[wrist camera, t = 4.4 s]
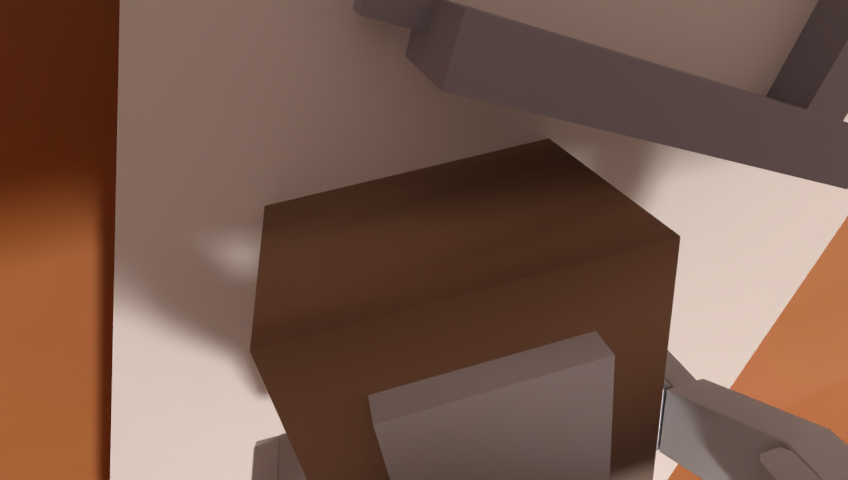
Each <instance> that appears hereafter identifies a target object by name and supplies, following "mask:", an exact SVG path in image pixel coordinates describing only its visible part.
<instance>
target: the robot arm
mask: <svg viewBox="0 0 848 480" xmlns="http://www.w3.org/2000/svg"><path fill="white" fill-rule="evenodd" d="M656 450H660V451H659V452H661V453H662V454H664V455H665V456H667V457H668V458H670V459H672V460H673V461H675V462H676V463H678V464H680V465H681V466H683V467H684V468H686V469H687V470H689V471H691V472H692V473H694V474H695V475H697V476H699V477H700V478H702V479H703V480H848V445H847V444H846V443H844V442H843V441H842V440H841V439H840V438H839V437H838V436H837V435H836V434H834V433H833V432H832V431H831V430H830V429H827V428H825V427H823V426H820V425H818V424H815V423H813V422H810V421H808V420H805V419H803V418H800V417H798V416H795V415H793V414H790V413H788V412H785V411H783V410H780V409H778V408H775V407H773V406H770V405H768V404H765V403H763V402H760V401H758V400H755V399H753V398H750V397H748V396H745V395H743V394H740V393H738V392H735V391H733V390H731V389H728V388H726V387H723V386H721V385H718V384H716V383H713V382H711V381H708V380H706V379H700V380H696V379H695V378H694V377H693V376H692V375H691V374H690V372H689V371H688V370H687V369H686V368H685V367H684V366H683V365H682V364H681V363H680V362H679V361H678V360H677V359H676V358H675V357H674V356H673V355H672V354H671V353H670V351H669V350H668V351H667V360H666V369H665V377H664V386H663V395H662V404H661V412H660V421H659V430H658V439H657V448H656ZM251 480H307V479H306V476H305V474H304V472H303V470H302V467H301V465H300V463H299V461H298V458H297V456H296V454H295V452H294V450H293V447H292V445H291V443H290V441H289V438H288V436H287V434H286V433H284V434H281V435H278V436H274V437H271V438H267V439H263V440H259V441H257V442H256V444H255V447H254V450H253V463H252V476H251Z"/></svg>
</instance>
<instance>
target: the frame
mask: <svg viewBox="0 0 848 480" xmlns="http://www.w3.org/2000/svg"><path fill="white" fill-rule="evenodd" d="M680 237H681V236H679V235H678V234H677V233H675V232H674V231H673V230H671V229H670V228H669V227H667V226H666V225H665V224H663V223H662V222H661V221H659V220H658V219H657V218H655V217H654V216H653V215H651V214H650V213H649V212H647V211H646V210H645V209H643V208H642V207H641V206H639V205H638V204H636V203H635V202H634V201H632V200H631V199H630V198H628V197H627V196H626V195H624V194H623V193H622V192H620V191H619V190H618V189H616V188H615V187H614V186H612V185H611V184H610V183H608V182H607V181H606V180H604V179H603V178H602V177H600V176H599V175H598V174H596V173H595V172H594V171H592V170H591V169H589V168H588V167H587V166H585V165H584V164H583V163H581V162H580V161H579V160H577V159H576V158H575V157H573V156H572V155H571V154H569V153H568V152H567V151H565V150H564V149H563V148H561V147H560V146H559V145H557V144H556V143H555V142H553V141H552V140H551V139H549V138H548V139H544V140H540V141H536V142H531V143H527V144H523V145H519V146H515V147H510V148H506V149H502V150H498V151H493V152H489V153H485V154H481V155H477V156H472V157H468V158H464V159H460V160H456V161H451V162H447V163H443V164H439V165H435V166H430V167H426V168H422V169H418V170H413V171H409V172H405V173H401V174H397V175H392V176H388V177H384V178H380V179H376V180H371V181H367V182H363V183H359V184H355V185H350V186H346V187H342V188H338V189H334V190H329V191H325V192H321V193H317V194H312V195H308V196H304V197H300V198H296V199H291V200H287V201H283V202H279V203H275V204H270V205H266V206H264V216H263V226H262V236H261V246H260V256H259V265H258V275H257V285H256V295H255V305H254V315H253V324H252V334H251V344H250V353H251V355H252V357H253V360H254V362H255V364H256V366H257V369H258V371H259V373H260V375H261V378H262V380H263V382H264V384H265V387H266V389H267V391H268V393H269V396H270V398H271V400H272V402H273V405H274V407H275V409H276V411H277V414H278V416H279V418H280V420H281V423H282V425H283V427H284V429H285V432H286V434H287V436H288V438H289V441H290V443H291V445H292V447H293V450H294V452H295V454H296V456H297V458H298V461H299V463H300V465H301V467H302V470H303V472H304V474H305V476H306V479H307V480H653V474H654V465H655V456H656V448H657V439H658V430H659V421H660V412H661V404H662V395H663V386H664V377H665V369H666V360H667V351H668V342H669V333H670V325H671V316H672V307H673V298H674V289H675V281H676V272H677V263H678V254H679V246H680Z"/></svg>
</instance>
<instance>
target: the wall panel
mask: <svg viewBox="0 0 848 480" xmlns="http://www.w3.org/2000/svg"><path fill="white" fill-rule="evenodd" d="M548 138H549V139H551V140H552V141H553V142H555V143H556V144H557V145H559V146H560V147H561V148H563V149H564V150H565V151H567V152H568V153H569V154H571V155H572V156H573V157H575V158H576V159H577V160H579V161H580V162H581V163H583V164H584V165H585V166H587V167H588V168H589V169H591V170H592V171H594V172H595V173H596V174H598V175H599V176H600V177H602V178H603V179H604V180H606V181H607V182H608V183H610V184H611V185H612V186H614V187H615V188H616V189H618V190H619V191H620V192H622V193H623V194H624V195H626V196H627V197H628V198H630V199H631V200H632V201H634V202H635V203H636V204H638V205H639V206H641V207H642V208H643V209H645V210H646V211H647V212H649V213H650V214H651V215H653V216H654V217H655V218H657V219H658V220H659V221H661V222H662V223H663V224H665V225H666V226H667V227H669V228H670V229H671V230H673V231H674V232H675V233H677V234H678V235H679V236H681V237H680V246H679V254H678V263H677V272H676V281H675V289H674V298H673V307H672V316H671V325H670V333H669V342H668V350H669V351H670V353H671V354H672V355H673V356H674V357H675V358H676V359H677V360H678V361H679V362H680V363H681V364H682V365H683V366H684V367H685V368H686V369H687V370H688V371H689V372H690V374H691V375H692V376H693V377H694V378H695V379H696V380H700V379H706V380H708V381H711V382H713V383H716V384H718V385H721V386H723V387H726V388H728V389H730V387H731V386H732V384H733V383H734V381H735V380H736V378H737V377H738V375H739V374H740V373H741V371H742V370H743V368H744V367H745V365H746V364H747V362H748V361H749V359H750V358H751V356H752V355H753V353H754V352H755V351H756V349H757V348H758V346H759V345H760V343H761V342H762V340H763V339H764V337H765V336H766V334H767V333H768V332H769V330H770V329H771V327H772V326H773V324H774V323H775V321H776V320H777V318H778V317H779V315H780V314H781V313H782V311H783V310H784V308H785V307H786V305H787V304H788V302H789V301H790V299H791V298H792V296H793V295H794V294H795V292H796V291H797V289H798V288H799V286H800V285H801V283H802V282H803V280H804V279H805V277H806V276H807V274H808V273H809V272H810V270H811V269H812V267H813V266H814V264H815V263H816V261H817V260H818V258H819V257H820V255H821V254H822V253H823V251H824V250H825V248H826V247H827V245H828V244H829V242H830V241H831V239H832V238H833V236H834V235H835V234H836V232H837V231H838V229H839V228H840V226H841V225H842V223H843V222H844V220H845V219H846V217H847V216H848V0H120V14H119V63H118V111H117V160H116V209H115V257H114V306H113V354H112V403H111V451H110V480H251V476H252V463H253V450H254V447H255V444H256V442H257V441H259V440H263V439H267V438H271V437H274V436H278V435H281V434H284V433H286V432H285V429H284V427H283V425H282V423H281V420H280V418H279V416H278V414H277V411H276V409H275V407H274V405H273V402H272V400H271V398H270V396H269V393H268V391H267V389H266V387H265V384H264V382H263V380H262V378H261V375H260V373H259V371H258V369H257V366H256V364H255V362H254V360H253V357H252V355H251V353H250V344H251V334H252V324H253V315H254V305H255V295H256V285H257V275H258V265H259V256H260V246H261V236H262V226H263V216H264V206H266V205H270V204H275V203H279V202H283V201H287V200H291V199H296V198H300V197H304V196H308V195H312V194H317V193H321V192H325V191H329V190H334V189H338V188H342V187H346V186H350V185H355V184H359V183H363V182H367V181H371V180H376V179H380V178H384V177H388V176H392V175H397V174H401V173H405V172H409V171H413V170H418V169H422V168H426V167H430V166H435V165H439V164H443V163H447V162H451V161H456V160H460V159H464V158H468V157H472V156H477V155H481V154H485V153H489V152H493V151H498V150H502V149H506V148H510V147H515V146H519V145H523V144H527V143H531V142H536V141H540V140H544V139H548ZM659 451H660V450H656V456H655V465H654V474H653V480H667V479H668V478H669V476H670V475H671V473H672V472H673V471H674V469H675V468H676V466H677V465H678V463H676V462H675V461H673V460H672V459H670V458H668V457H667V456H665V455H664V454H662V453H661V452H659Z"/></svg>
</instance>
